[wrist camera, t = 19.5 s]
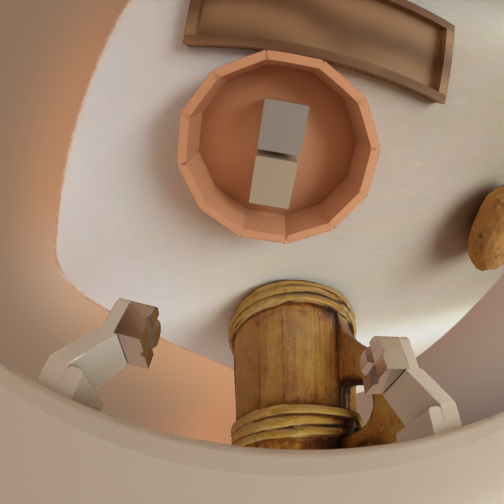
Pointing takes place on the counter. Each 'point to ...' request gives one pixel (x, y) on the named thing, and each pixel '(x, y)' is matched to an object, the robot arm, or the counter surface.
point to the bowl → (246, 141)
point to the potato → (488, 232)
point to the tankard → (301, 372)
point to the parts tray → (336, 36)
